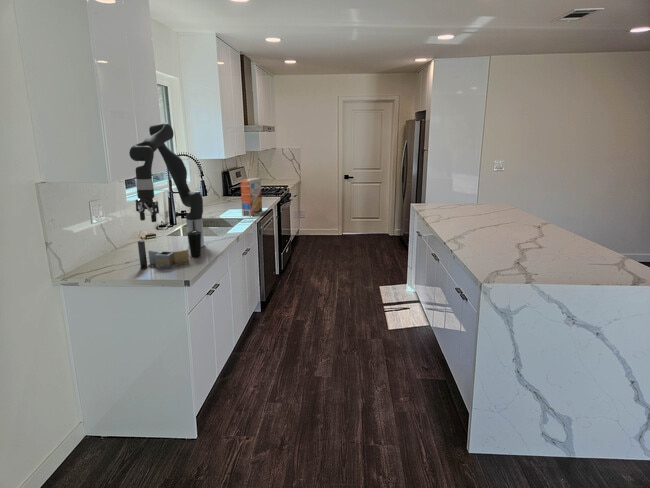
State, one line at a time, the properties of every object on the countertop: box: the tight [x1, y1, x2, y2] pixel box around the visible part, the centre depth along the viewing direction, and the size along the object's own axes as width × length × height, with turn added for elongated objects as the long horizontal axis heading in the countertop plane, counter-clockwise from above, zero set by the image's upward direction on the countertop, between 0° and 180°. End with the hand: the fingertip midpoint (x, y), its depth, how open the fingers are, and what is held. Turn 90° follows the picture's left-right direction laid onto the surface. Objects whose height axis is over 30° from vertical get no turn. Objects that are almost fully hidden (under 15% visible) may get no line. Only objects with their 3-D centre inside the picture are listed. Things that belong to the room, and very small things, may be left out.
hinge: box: [147, 249, 190, 270], centre depth 220 cm, size 11×20×7 cm, turn 84°
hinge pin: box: [137, 240, 148, 270], centre depth 215 cm, size 3×3×14 cm
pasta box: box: [240, 177, 263, 218], centre depth 361 cm, size 23×8×30 cm, turn 165°
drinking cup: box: [186, 221, 202, 259], centre depth 234 cm, size 8×8×20 cm
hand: (148, 221), depth 209 cm, fingers open, 8 cm apart
